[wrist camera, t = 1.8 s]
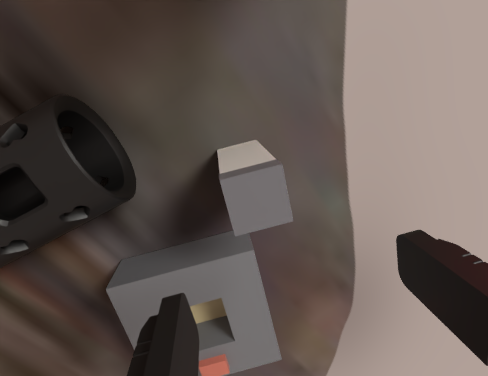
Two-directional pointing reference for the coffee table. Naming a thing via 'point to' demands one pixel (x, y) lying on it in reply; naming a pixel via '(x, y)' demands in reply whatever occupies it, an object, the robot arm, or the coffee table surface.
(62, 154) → the muzzle brake
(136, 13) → the coffee table surface
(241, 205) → the plug
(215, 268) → the socket
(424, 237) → the robot arm
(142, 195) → the coffee table surface
